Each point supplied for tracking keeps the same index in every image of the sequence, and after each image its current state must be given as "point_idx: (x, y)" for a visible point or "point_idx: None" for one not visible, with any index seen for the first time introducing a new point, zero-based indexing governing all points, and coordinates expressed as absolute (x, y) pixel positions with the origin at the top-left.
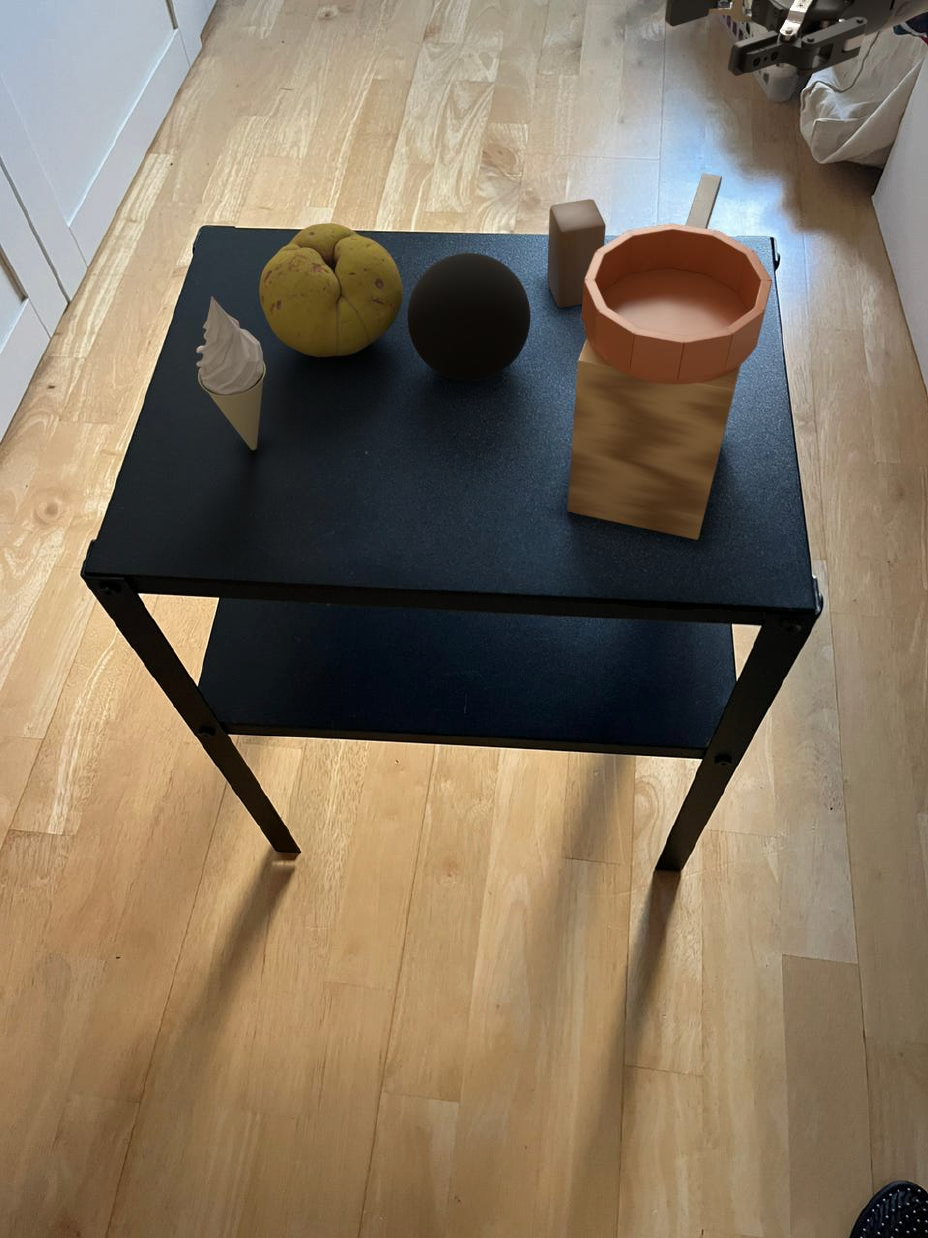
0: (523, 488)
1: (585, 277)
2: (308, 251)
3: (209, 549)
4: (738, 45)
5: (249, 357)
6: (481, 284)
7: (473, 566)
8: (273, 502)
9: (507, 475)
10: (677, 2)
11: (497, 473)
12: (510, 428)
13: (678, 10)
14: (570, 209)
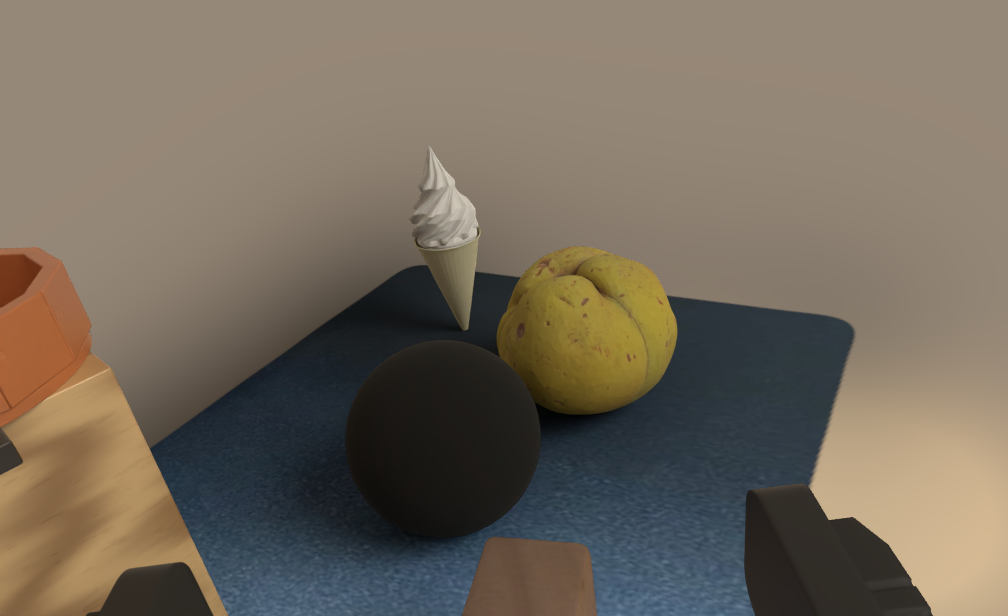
0: (222, 505)
1: (39, 248)
2: (569, 253)
3: (374, 304)
4: (142, 567)
5: (421, 220)
6: (386, 370)
7: (184, 441)
8: (389, 335)
9: (253, 495)
10: (757, 523)
11: (265, 487)
12: (316, 519)
13: (762, 570)
14: (548, 570)
